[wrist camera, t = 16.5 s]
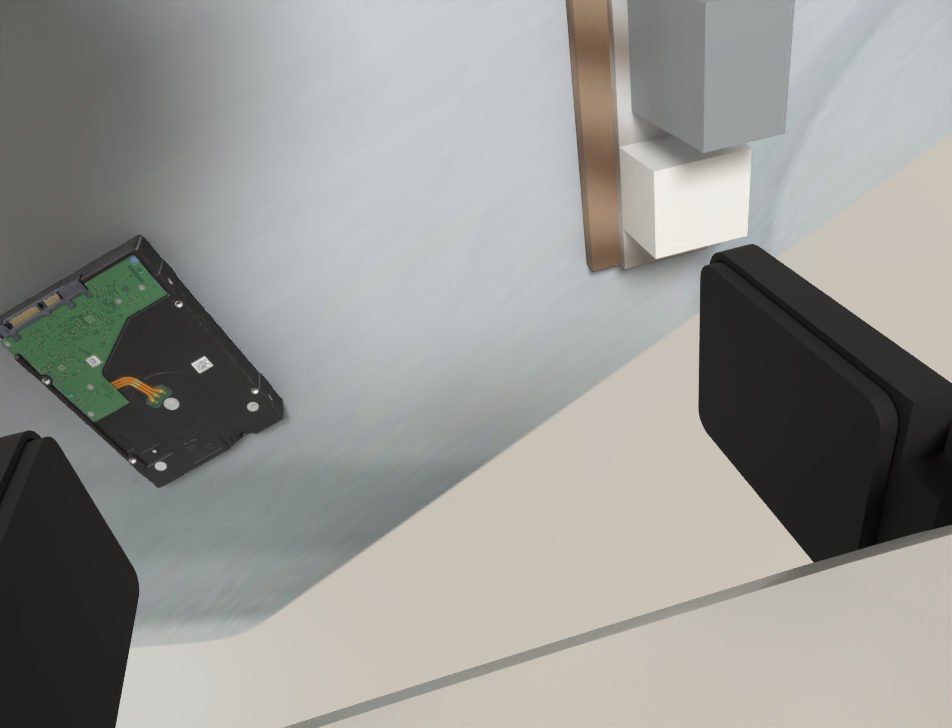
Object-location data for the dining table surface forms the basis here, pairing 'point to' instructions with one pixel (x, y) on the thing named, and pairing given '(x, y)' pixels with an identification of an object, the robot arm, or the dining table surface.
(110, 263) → the disk drive
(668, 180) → the block
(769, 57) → the block
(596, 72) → the rail board
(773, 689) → the robot arm
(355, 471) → the dining table surface
